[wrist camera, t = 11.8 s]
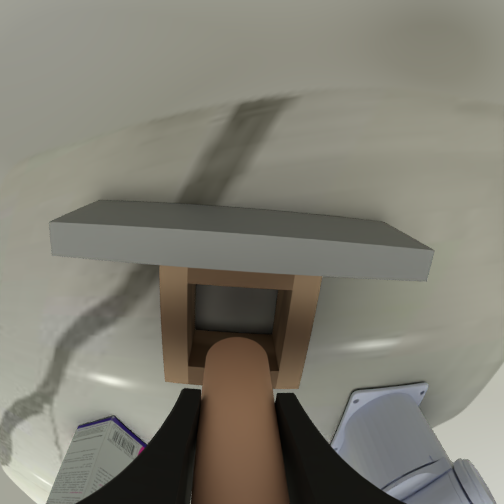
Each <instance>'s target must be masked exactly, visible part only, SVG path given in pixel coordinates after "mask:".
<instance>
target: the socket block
mask: <svg viewBox="0 0 504 504" xmlns="http://www.w3.org/2000/svg"><path fill="white" fill-rule="evenodd" d="M159 272H160V309H161V330H162V346H163V360H164V373H165V382H173V383H182V384H193V385H203V378H204V369H205V361H206V355H207V353H208V351H209V349H210V348H211V347H212V346H213V345H214V344H215V343H217V342H219V341H221V340H223V339H226V338H230V337H243V338H248V339H251V340H253V341H255V342H257V343H258V344H259V345H261V346H262V347H263V349H264V350H265V351H266V354H267V357H268V363H269V369H270V376H271V382H272V389H299V384H300V380H301V376H302V372H303V368H304V363H305V359H306V354H307V350H308V345H309V341H310V336H311V331H312V327H313V322H314V317H315V312H316V307H317V302H318V296H319V291H320V286H321V280H322V276H308V275H291V274H275V273H259V272H244V271H230V270H216V269H202V268H189V267H176V266H163V265H159ZM196 284H202V285H215V286H229V287H244V288H260V289H278V295H277V302H276V310H275V317H274V324H273V331H272V335H270V334H248V333H230V332H216V331H202V330H195V299H196Z"/></svg>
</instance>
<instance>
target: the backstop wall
mask: <svg viewBox="0 0 504 504" xmlns="http://www.w3.org/2000/svg"><path fill="white" fill-rule="evenodd" d="M49 229H50V242H51V252H52V256H62V257H72V258H83V259H94V260H105V261H116V262H127V263H139V264H151V265H163V266H176V267H189V268H202V269H216V270H230V271H244V272H259V273H275V274H291V275H308V276H325V277H343V278H363V279H384V280H406V281H427V278H428V275H429V271H430V267H431V263H432V259H433V255H434V250H433V249H431V248H429V247H428V246H426V245H424V244H422V243H421V242H419V241H417V240H415V239H414V238H412V237H410V236H408V235H407V234H405V233H403V232H401V231H399V230H398V229H396V228H394V227H392V226H390V225H388V224H387V223H385V222H379V221H371V220H362V219H354V218H345V217H336V216H326V215H317V214H307V213H297V212H286V211H275V210H263V209H251V208H238V207H225V206H210V205H195V204H178V203H159V202H138V201H111V200H98V201H96V202H93V203H91V204H89V205H86V206H84V207H82V208H79V209H77V210H75V211H72V212H70V213H68V214H65V215H63V216H61V217H59V218H57V219H54V220H52V221H50V222H49Z"/></svg>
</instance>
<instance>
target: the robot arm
mask: <svg viewBox="0 0 504 504" xmlns="http://www.w3.org/2000/svg"><path fill="white" fill-rule="evenodd" d="M428 387H429V385H428V384H427V383H418V384H411V385H404V386H396V387H387V388H378V389H367V390H357V391H354V392H353V393H352V395H351V397H350V400H349V402H348V405H347V407H346V410H345V412H344V415H343V417H342V420H341V422H340V425H339V427H338V429H337V432H336V434H335V436H334V439H333V441H332V443H331V445H330V444H329V443H328V442H327V441H326V440H325V438H324V437H323V436H322V435H321V433H320V432H319V431H318V429H317V428H316V427H315V425H314V424H313V423H312V421H311V420H310V418H309V417H308V415H307V414H306V412H305V411H304V409H303V407H302V406H301V404H300V402H299V401H298V399H297V397H296V395H295V394H294V393H277V396H276V401H275V409H276V415H277V422H278V428H279V435H280V441H281V448H282V454H283V461H284V468H285V474H286V481H287V487H288V494H289V500H290V504H496V502H495V500H494V498H493V496H492V494H491V492H490V490H489V488H488V487H487V485H486V483H485V482H484V480H483V478H482V477H481V475H480V474H479V472H478V471H477V469H476V468H475V467H474V465H473V464H472V463H471V462H470V460H468V459H463V460H462V459H457V460H456V461H455V462H454V463H453V462H452V461H451V460H450V459H449V457H448V455H447V454H446V452H445V450H444V449H443V447H442V445H441V443H440V442H439V440H438V439H437V437H436V435H435V433H434V432H433V430H432V428H431V427H430V425H429V423H428V422H427V420H426V418H425V417H424V415H423V414H422V412H421V410H420V409H419V405H420V403H421V401H422V399H423V397H424V395H425V393H426V391H427V389H428ZM200 406H201V390H200V389H189V388H184V389H183V390H182V391H181V393H180V395H179V398H178V400H177V402H176V403H175V405H174V407H173V409H172V411H171V412H170V414H169V415H168V417H167V419H166V420H165V422H164V423H163V425H162V426H161V428H160V429H159V430H158V432H157V433H156V434H155V436H154V437H153V438H152V440H151V441H150V442H149V443H148V445H147V446H146V447H145V448H144V449H143V450H142V452H141V453H140V454H139V455H138V456H137V457H136V458H135V459H134V460H133V461H132V462H131V463H130V464H129V465H128V466H127V467H126V468H125V469H124V470H123V471H121V472H120V473H119V474H118V475H117V476H116V477H114V478H113V479H112V480H110V481H109V482H108V483H106V484H105V485H104V486H102V487H101V488H100V489H98V490H97V491H95V492H94V493H92V494H91V495H89V496H87V497H86V498H84V499H82V500H80V501H79V502H77V503H75V504H190V500H191V492H192V483H193V472H194V462H195V451H196V441H197V431H198V423H199V415H200Z"/></svg>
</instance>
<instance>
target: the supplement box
mask: <svg viewBox="0 0 504 504" xmlns="http://www.w3.org/2000/svg"><path fill="white" fill-rule="evenodd" d="M146 446H147V445H146V444H145V443H144V442H142V441H141V440H140V439H139V438H138V437H136V436H135V435H134V434H133V433H132V432H131V431H129V430H128V429H127V428H126V427H125V426H124V425H123V424H122V423H121V422H120V421H119V420H117V419H116V418H115V417H114V416H111V417H108V418H104V419H101V420H98V421H95V422H91V423H87V424H83V425H80V426H78V428H77V430H76V433H75V435H74V437H73V439H72V442H71V444H70V446H69V449H68V451H67V453H66V456H65V458H64V460H63V462H62V465H61V467H60V470H59V472H58V475H57V477H56V480H55V482H54V485H53V487H52V490H51V492H50V495H49V497H48V500H47V503H46V504H75V503H77V502H79V501H80V500H82V499H84V498H86V497H87V496H89V495H91V494H92V493H94V492H95V491H97V490H98V489H100V488H101V487H102V486H104V485H105V484H106V483H108V482H109V481H110V480H112V479H113V478H114V477H116V476H117V475H118V474H119V473H120V472H121V471H123V470H124V469H125V468H126V467H127V466H128V465H129V464H130V463H131V462H132V461H133V460H134V459H135V458H136V457H137V456H138V455H139V454H140V453H141V452H142V450H143V449H144V448H145V447H146Z"/></svg>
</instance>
